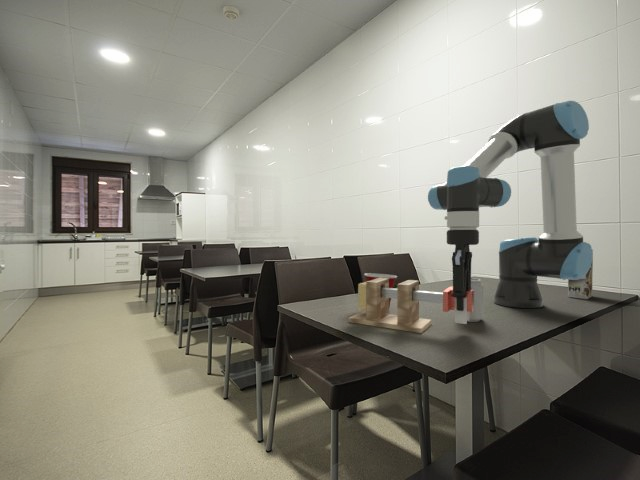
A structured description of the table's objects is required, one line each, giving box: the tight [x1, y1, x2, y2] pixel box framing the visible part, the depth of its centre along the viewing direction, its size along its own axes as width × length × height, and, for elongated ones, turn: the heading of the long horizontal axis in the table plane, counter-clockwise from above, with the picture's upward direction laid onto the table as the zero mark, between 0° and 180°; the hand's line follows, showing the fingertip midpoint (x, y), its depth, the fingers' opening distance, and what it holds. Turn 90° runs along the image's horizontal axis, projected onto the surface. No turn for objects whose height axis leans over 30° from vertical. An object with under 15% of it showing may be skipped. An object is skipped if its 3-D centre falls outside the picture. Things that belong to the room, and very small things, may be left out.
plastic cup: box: [364, 272, 398, 309], centre depth 114 cm, size 11×11×12 cm
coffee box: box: [567, 258, 594, 300], centre depth 133 cm, size 9×6×16 cm
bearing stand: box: [348, 278, 433, 334], centre depth 97 cm, size 21×10×12 cm, turn 58°
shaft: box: [381, 285, 474, 313], centre depth 94 cm, size 31×9×5 cm, turn 58°
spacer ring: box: [357, 281, 367, 311], centre depth 101 cm, size 2×7×7 cm, turn 147°
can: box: [467, 277, 484, 323], centre depth 101 cm, size 8×8×12 cm
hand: (462, 321), depth 87 cm, fingers closed on shaft, 3 cm apart
